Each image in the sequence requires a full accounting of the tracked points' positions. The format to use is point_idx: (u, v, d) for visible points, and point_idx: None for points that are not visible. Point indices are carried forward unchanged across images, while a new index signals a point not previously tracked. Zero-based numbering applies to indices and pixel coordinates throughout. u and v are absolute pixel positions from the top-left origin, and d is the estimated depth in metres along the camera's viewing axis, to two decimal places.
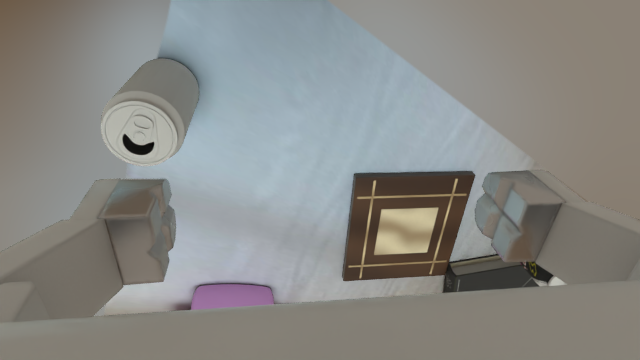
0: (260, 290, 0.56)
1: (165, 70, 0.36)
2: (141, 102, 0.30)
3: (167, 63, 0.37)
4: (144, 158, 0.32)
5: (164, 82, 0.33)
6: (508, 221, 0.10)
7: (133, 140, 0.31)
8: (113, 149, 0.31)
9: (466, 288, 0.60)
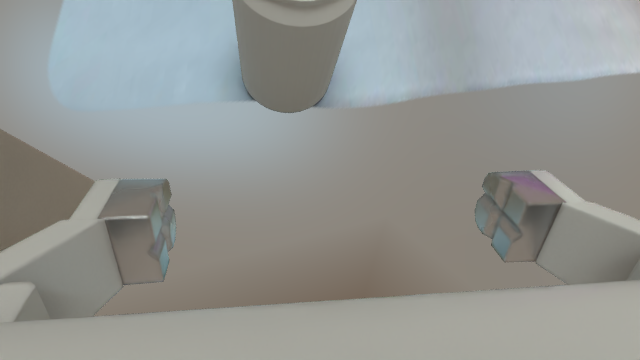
0: None
1: (238, 46, 0.24)
2: None
3: (241, 67, 0.26)
4: None
5: None
6: (508, 220, 0.10)
7: None
8: None
9: None
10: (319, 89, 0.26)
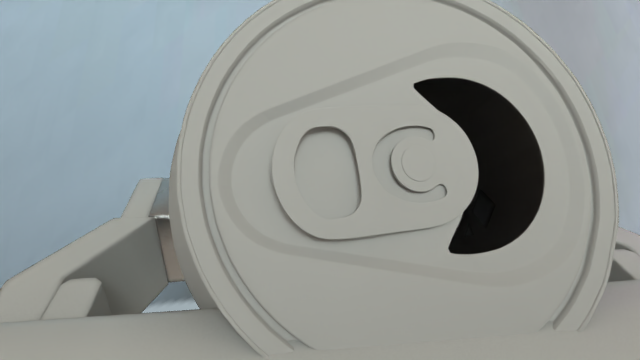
0: None
1: None
2: (187, 222, 0.04)
3: None
4: (537, 101, 0.05)
5: None
6: None
7: (465, 189, 0.05)
8: (585, 277, 0.05)
9: None
10: None
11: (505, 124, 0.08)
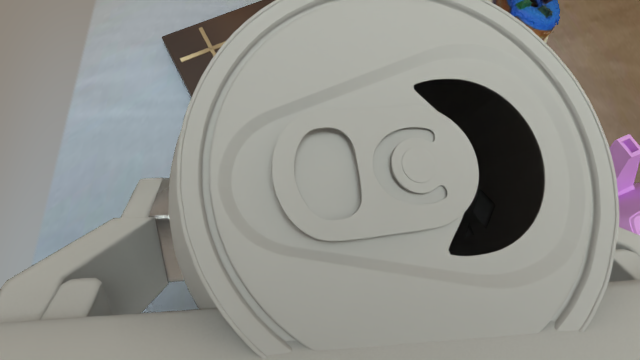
0: None
1: None
2: (187, 224, 0.04)
3: None
4: (537, 103, 0.05)
5: None
6: None
7: (465, 190, 0.05)
8: (585, 279, 0.05)
9: None
10: None
11: (506, 125, 0.08)
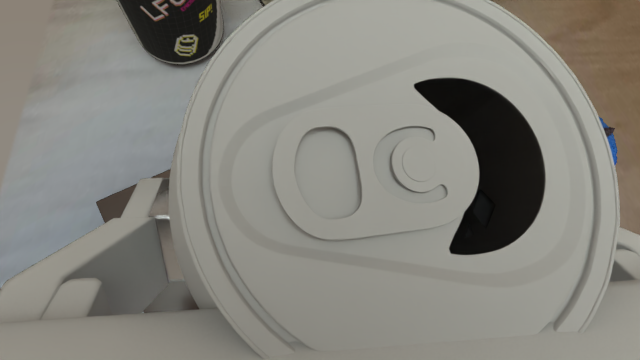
0: None
1: None
2: (187, 222, 0.04)
3: None
4: (537, 102, 0.05)
5: None
6: None
7: (466, 189, 0.05)
8: (586, 278, 0.05)
9: None
10: None
11: (506, 124, 0.08)
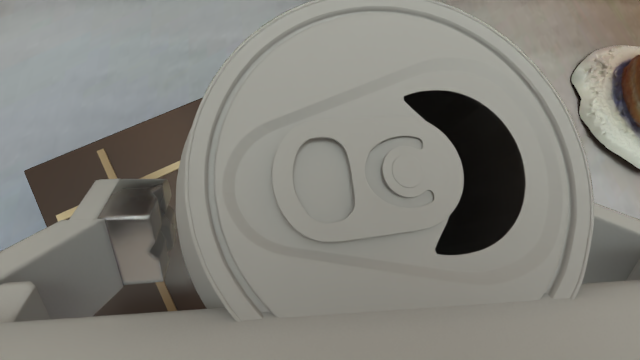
0: None
1: None
2: (194, 226, 0.05)
3: None
4: (519, 112, 0.06)
5: None
6: None
7: (451, 195, 0.05)
8: (561, 276, 0.05)
9: None
10: None
11: (494, 130, 0.08)
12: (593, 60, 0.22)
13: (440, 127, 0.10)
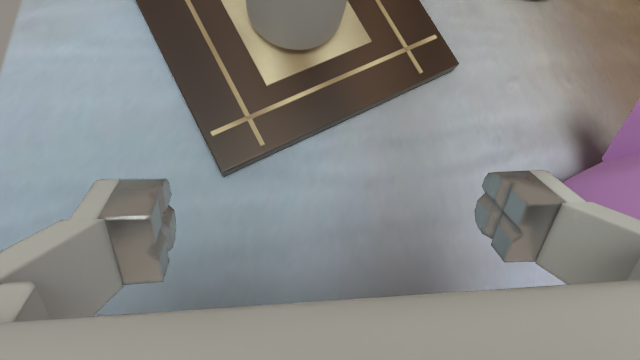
0: None
1: None
2: None
3: None
4: None
5: None
6: (508, 221, 0.10)
7: None
8: None
9: None
10: (331, 19, 0.23)
11: None
12: None
13: None
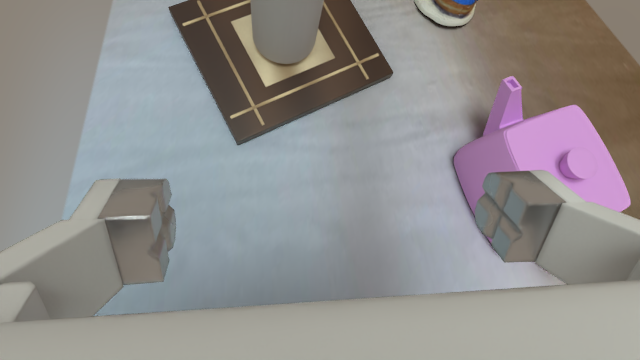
0: (459, 169, 0.39)
1: (251, 14, 0.36)
2: None
3: (252, 31, 0.38)
4: None
5: None
6: (508, 220, 0.10)
7: None
8: None
9: None
10: (306, 45, 0.37)
11: None
12: None
13: None
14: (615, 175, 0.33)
